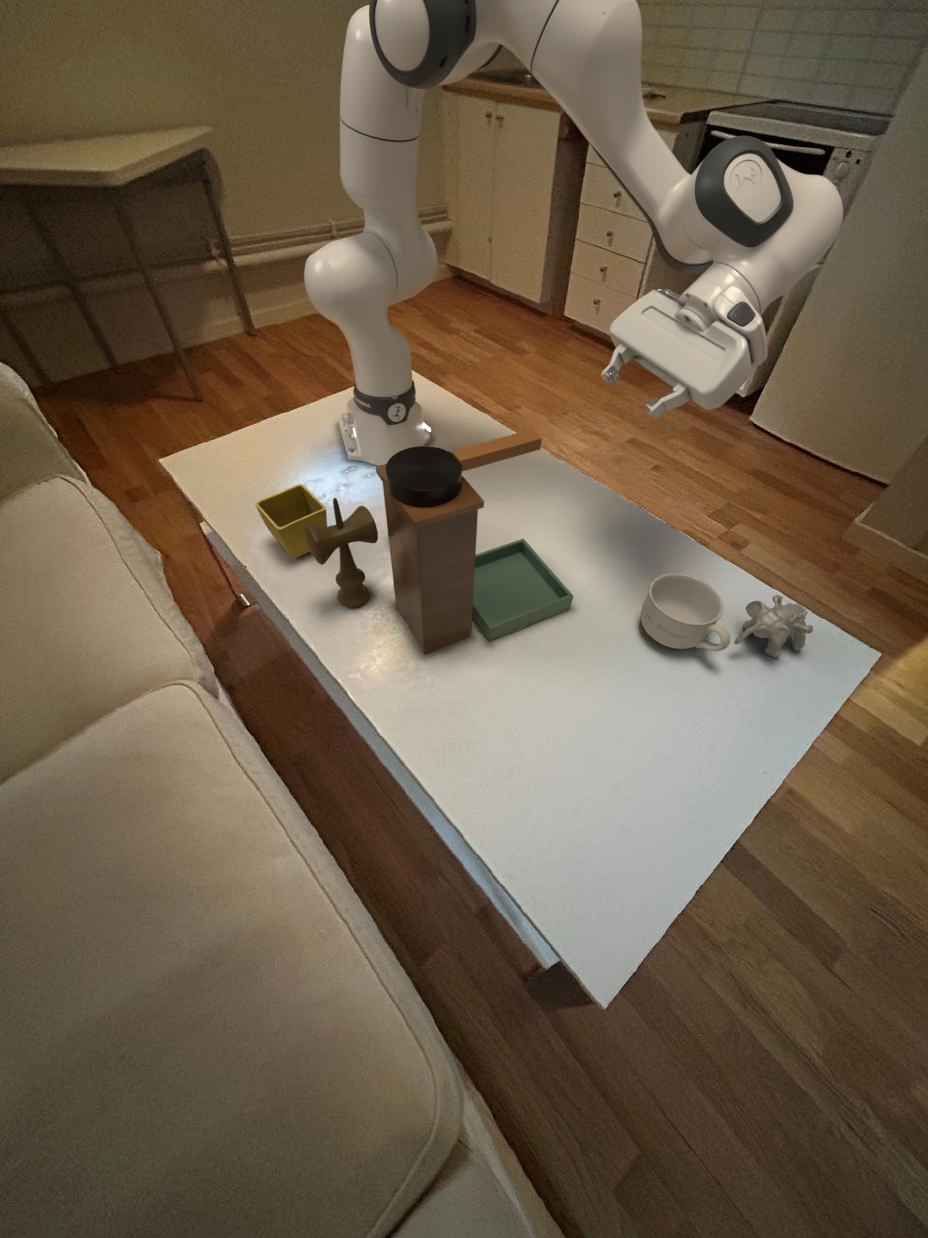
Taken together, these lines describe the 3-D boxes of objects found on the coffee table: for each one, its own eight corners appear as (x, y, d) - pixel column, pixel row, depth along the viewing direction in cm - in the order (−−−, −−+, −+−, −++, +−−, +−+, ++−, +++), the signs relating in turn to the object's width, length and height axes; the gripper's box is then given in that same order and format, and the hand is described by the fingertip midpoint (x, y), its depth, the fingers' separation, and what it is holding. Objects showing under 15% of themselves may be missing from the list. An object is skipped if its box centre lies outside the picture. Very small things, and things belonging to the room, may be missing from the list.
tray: (445, 578, 92) (445, 564, 89) (521, 551, 96) (523, 538, 94) (488, 641, 83) (489, 628, 81) (570, 608, 88) (573, 595, 85)
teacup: (622, 615, 87) (635, 580, 81) (678, 598, 90) (695, 563, 84) (672, 683, 79) (691, 650, 73) (733, 662, 82) (756, 629, 75)
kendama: (319, 597, 88) (292, 497, 73) (372, 575, 92) (357, 475, 76) (334, 621, 85) (309, 522, 70) (389, 598, 88) (376, 498, 73)
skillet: (376, 473, 67) (373, 453, 64) (516, 435, 73) (518, 416, 71) (405, 515, 62) (403, 495, 59) (553, 471, 68) (556, 451, 66)
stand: (391, 604, 87) (375, 466, 68) (441, 586, 90) (440, 449, 70) (422, 658, 81) (414, 522, 61) (475, 637, 83) (484, 500, 64)
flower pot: (290, 570, 92) (278, 529, 85) (267, 543, 96) (253, 502, 89) (335, 548, 96) (327, 507, 89) (311, 523, 100) (301, 482, 93)
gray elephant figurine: (807, 642, 84) (833, 610, 79) (770, 685, 79) (796, 654, 73) (752, 609, 89) (773, 576, 83) (713, 647, 83) (733, 615, 77)
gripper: (653, 264, 71) (573, 346, 74) (773, 326, 59) (671, 420, 63) (665, 300, 76) (589, 376, 79) (777, 364, 64) (683, 449, 68)
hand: (626, 396), depth 71 cm, fingers open, 8 cm apart
